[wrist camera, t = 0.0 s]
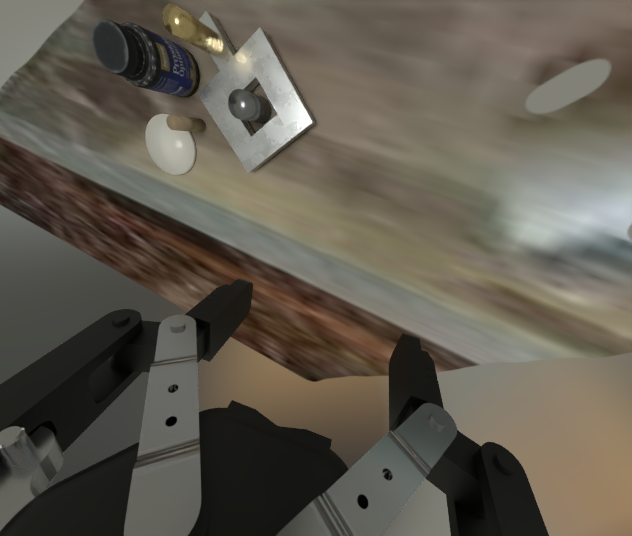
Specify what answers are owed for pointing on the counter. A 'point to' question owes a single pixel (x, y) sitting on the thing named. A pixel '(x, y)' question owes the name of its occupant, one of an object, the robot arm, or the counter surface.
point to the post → (249, 106)
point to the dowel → (185, 124)
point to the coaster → (170, 146)
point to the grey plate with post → (244, 86)
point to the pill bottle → (145, 58)
